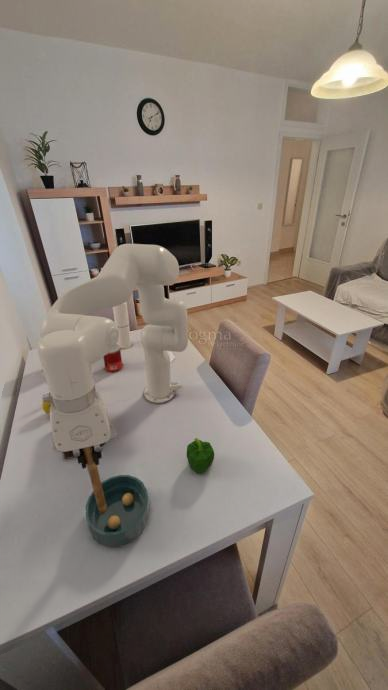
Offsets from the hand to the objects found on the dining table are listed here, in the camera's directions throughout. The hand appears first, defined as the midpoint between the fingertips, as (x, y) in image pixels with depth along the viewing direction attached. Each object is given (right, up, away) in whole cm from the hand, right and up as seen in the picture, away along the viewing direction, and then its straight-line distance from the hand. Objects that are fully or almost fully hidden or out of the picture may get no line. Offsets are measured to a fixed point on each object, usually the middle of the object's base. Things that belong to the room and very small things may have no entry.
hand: (91, 461), depth 60 cm
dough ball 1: (+2, -19, +9) cm, 21 cm away
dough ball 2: (+5, -16, +14) cm, 22 cm away
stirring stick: (0, -16, +9) cm, 19 cm away
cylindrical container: (-16, +25, +91) cm, 96 cm away
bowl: (+3, -20, +13) cm, 24 cm away
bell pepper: (+24, -13, +26) cm, 38 cm away
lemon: (-31, -1, +45) cm, 55 cm away
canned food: (-16, +14, +72) cm, 75 cm away
